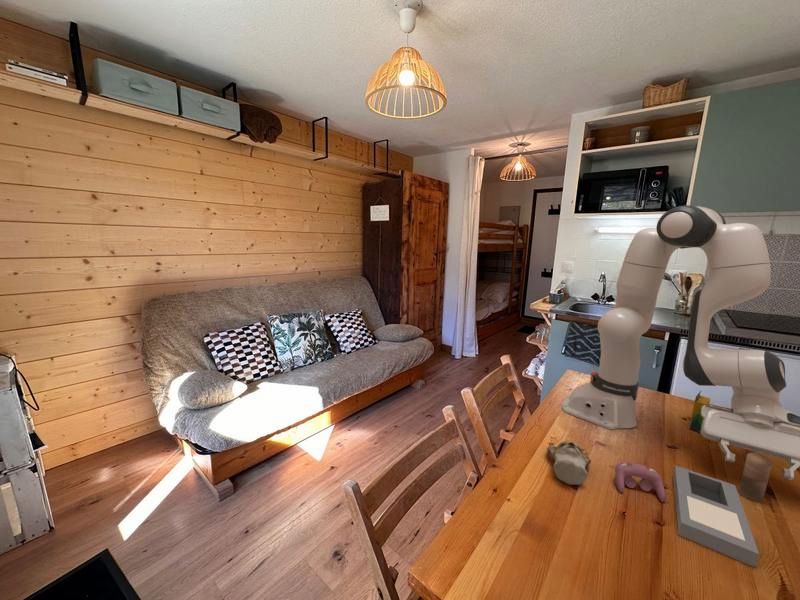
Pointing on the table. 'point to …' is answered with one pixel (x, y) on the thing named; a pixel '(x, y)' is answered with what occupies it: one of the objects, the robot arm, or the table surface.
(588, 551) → the table surface
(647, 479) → the video game controller
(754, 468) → the walnut peg
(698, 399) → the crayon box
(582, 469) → the ceramic sculpture
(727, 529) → the hole board
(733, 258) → the robot arm
